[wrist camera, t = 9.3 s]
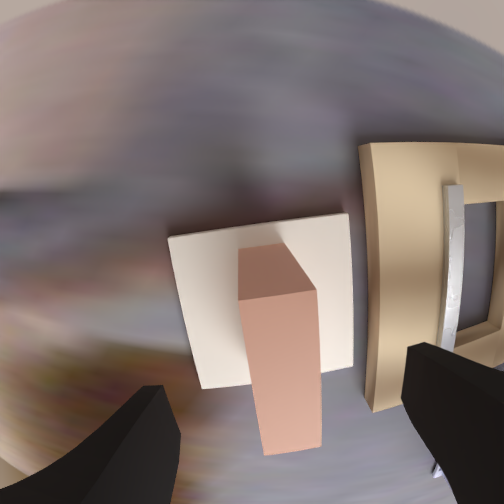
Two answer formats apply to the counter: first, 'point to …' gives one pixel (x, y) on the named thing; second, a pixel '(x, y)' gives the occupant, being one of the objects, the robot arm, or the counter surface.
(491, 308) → the gold flat square frame
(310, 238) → the pad
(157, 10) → the counter surface
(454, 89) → the counter surface
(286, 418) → the peach cuboid
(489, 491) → the robot arm
